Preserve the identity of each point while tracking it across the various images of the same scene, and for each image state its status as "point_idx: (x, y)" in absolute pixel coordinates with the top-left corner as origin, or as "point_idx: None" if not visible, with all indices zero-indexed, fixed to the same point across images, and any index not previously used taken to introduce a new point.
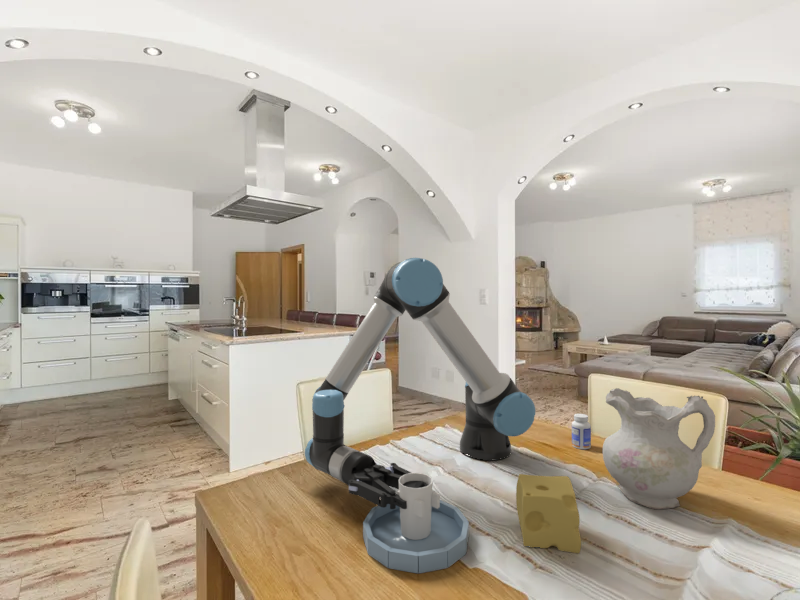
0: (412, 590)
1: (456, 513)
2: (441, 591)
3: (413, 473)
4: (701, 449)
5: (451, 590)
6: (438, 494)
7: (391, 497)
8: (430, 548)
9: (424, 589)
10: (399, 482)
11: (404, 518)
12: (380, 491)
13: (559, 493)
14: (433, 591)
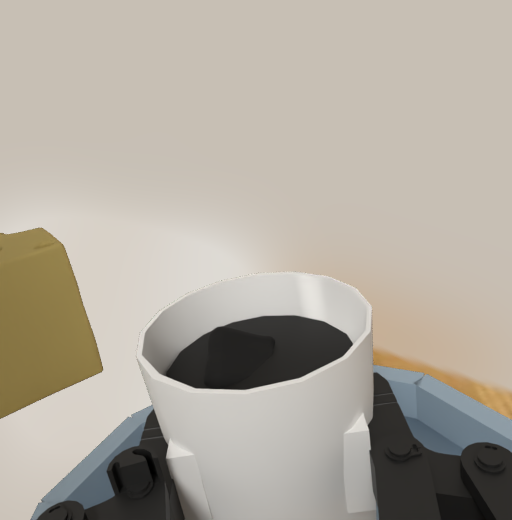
0: (479, 389)
1: (86, 484)
2: (403, 362)
3: (174, 380)
4: None
5: (377, 356)
6: None
7: (427, 453)
8: None
9: (443, 380)
10: (365, 334)
11: None
12: (507, 505)
13: (9, 234)
14: (422, 368)
